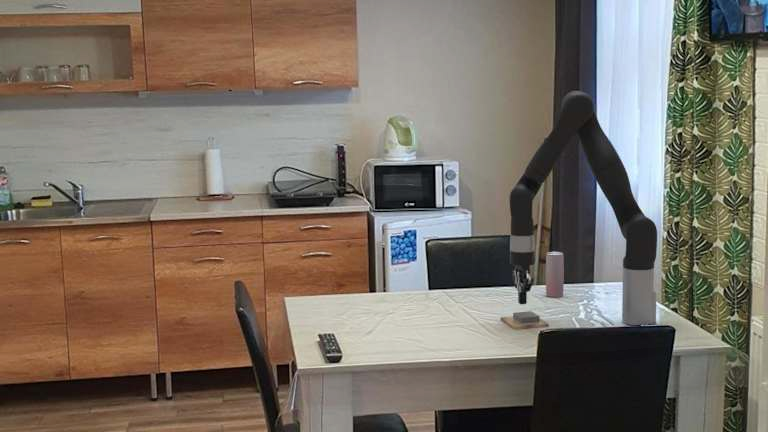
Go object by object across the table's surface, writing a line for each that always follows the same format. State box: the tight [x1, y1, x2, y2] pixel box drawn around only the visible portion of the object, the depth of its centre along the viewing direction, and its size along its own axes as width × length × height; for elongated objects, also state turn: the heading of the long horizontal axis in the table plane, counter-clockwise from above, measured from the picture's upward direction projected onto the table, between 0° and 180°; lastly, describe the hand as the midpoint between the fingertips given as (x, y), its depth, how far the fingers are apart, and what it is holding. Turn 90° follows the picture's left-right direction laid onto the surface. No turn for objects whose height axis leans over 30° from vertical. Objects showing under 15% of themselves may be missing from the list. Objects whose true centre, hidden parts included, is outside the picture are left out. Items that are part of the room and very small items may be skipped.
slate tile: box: [512, 310, 541, 326], centre depth 291 cm, size 6×2×7 cm
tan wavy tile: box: [500, 315, 550, 330], centre depth 293 cm, size 11×12×1 cm
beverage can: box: [545, 251, 565, 298], centre depth 327 cm, size 6×6×15 cm
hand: (522, 303), depth 294 cm, fingers closed
